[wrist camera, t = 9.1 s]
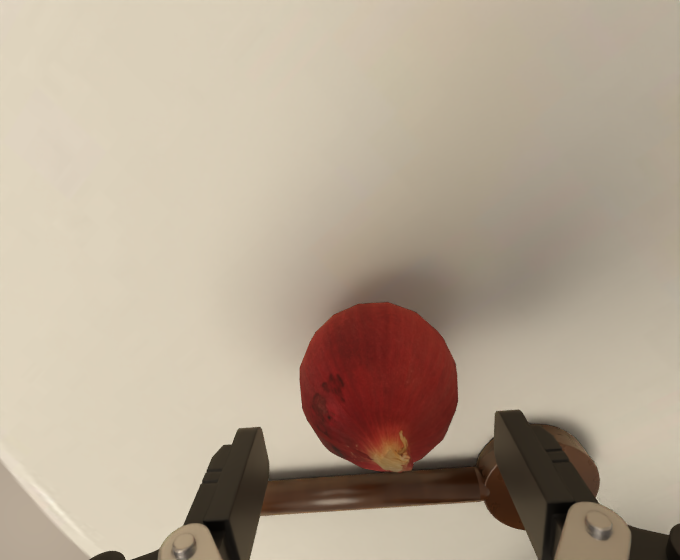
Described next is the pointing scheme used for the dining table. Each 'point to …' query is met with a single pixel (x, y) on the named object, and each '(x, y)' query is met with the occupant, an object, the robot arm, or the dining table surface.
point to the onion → (379, 386)
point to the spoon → (418, 486)
